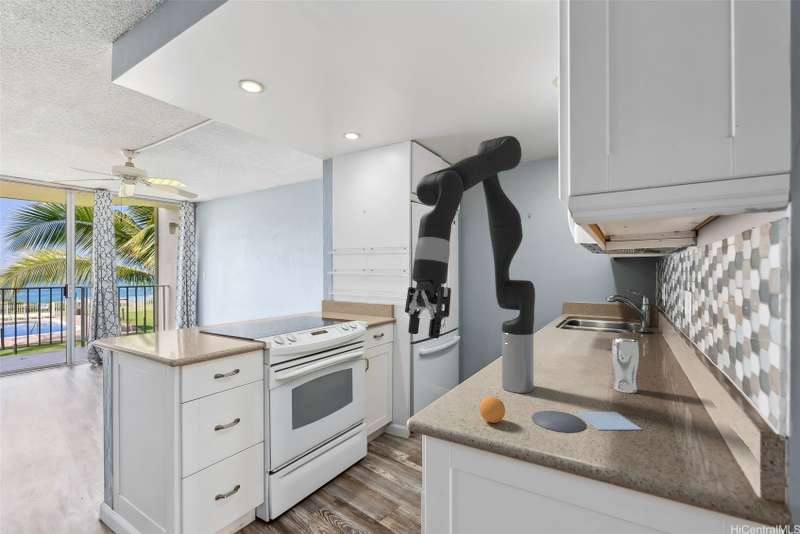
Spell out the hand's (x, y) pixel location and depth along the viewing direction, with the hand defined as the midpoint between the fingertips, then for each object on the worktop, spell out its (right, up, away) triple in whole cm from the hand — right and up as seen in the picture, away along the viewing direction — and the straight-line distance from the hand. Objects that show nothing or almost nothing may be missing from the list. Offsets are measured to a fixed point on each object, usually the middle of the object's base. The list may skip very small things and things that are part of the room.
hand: (422, 335), depth 78 cm
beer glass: (+63, -23, +33) cm, 75 cm away
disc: (+34, -23, +11) cm, 42 cm away
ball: (+18, -20, +11) cm, 29 cm away
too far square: (+46, -23, +11) cm, 52 cm away
